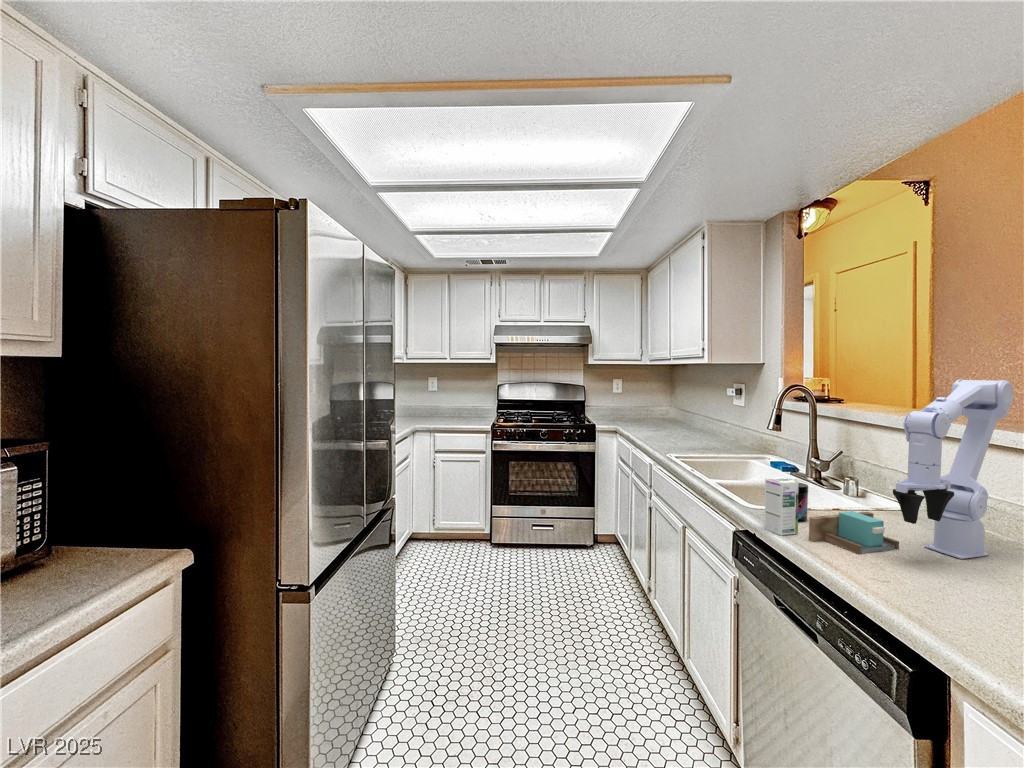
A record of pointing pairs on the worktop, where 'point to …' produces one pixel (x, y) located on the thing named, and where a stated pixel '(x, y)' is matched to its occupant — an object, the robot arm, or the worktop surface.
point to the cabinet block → (861, 528)
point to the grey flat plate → (871, 549)
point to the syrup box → (781, 506)
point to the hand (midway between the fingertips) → (922, 521)
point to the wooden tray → (836, 532)
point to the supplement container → (802, 502)
